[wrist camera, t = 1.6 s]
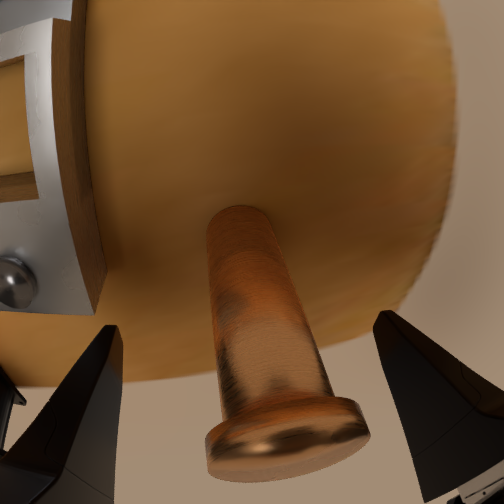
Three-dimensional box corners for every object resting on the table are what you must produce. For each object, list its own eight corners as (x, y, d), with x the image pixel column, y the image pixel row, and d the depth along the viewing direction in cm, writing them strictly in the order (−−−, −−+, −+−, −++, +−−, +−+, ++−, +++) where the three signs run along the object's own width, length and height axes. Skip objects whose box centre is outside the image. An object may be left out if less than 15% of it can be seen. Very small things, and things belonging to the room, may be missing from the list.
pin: (276, 268, 16) (340, 467, 8) (196, 270, 15) (210, 487, 7) (287, 196, 14) (397, 411, 6) (194, 195, 13) (204, 444, 5)
